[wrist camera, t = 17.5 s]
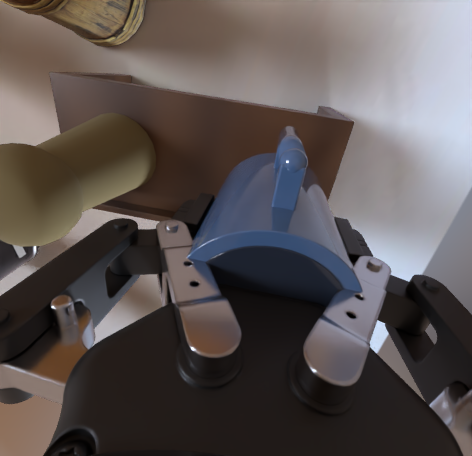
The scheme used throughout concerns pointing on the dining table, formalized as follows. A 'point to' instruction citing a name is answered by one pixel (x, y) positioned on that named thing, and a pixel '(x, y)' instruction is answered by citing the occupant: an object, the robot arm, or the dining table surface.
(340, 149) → the brown wooden shelf
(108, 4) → the wooden mug
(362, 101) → the dining table surface
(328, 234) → the cup
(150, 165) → the olive green peg figure
